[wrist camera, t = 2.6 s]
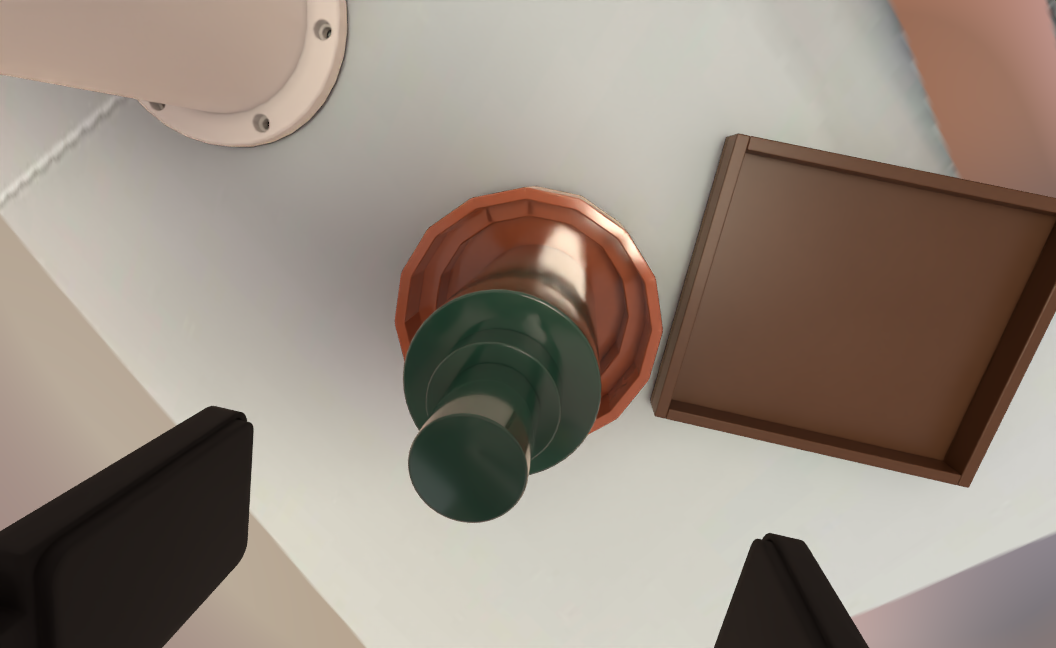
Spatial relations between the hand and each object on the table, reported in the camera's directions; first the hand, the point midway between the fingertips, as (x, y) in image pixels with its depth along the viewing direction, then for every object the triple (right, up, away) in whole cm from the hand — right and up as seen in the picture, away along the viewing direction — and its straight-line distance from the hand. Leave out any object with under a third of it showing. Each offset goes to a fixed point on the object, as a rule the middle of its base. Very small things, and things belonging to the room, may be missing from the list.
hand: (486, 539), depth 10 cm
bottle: (+1, +5, +19) cm, 20 cm away
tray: (+17, +5, +18) cm, 25 cm away
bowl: (+1, +5, +19) cm, 20 cm away
